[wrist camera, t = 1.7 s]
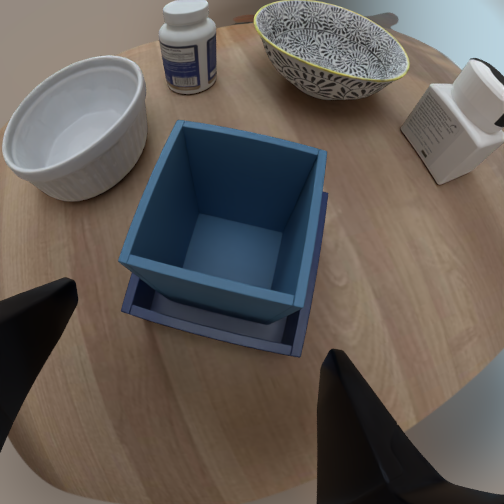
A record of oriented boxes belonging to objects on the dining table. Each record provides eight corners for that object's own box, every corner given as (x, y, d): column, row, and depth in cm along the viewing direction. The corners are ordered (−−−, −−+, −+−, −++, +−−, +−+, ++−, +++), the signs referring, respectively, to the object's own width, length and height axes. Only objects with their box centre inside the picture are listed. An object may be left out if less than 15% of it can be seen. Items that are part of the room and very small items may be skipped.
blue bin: (268, 325, 20) (303, 308, 10) (169, 300, 20) (117, 261, 10) (287, 231, 22) (327, 150, 12) (196, 210, 22) (177, 119, 12)
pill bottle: (198, 61, 28) (194, -9, 19) (226, 81, 27) (228, 4, 18) (158, 80, 27) (144, 8, 18) (183, 103, 26) (173, 22, 17)
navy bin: (285, 354, 20) (300, 357, 15) (142, 318, 20) (120, 311, 15) (311, 219, 23) (328, 192, 19) (183, 190, 23) (174, 157, 19)
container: (435, 121, 29) (487, 53, 16) (470, 172, 27) (536, 111, 14) (398, 128, 27) (454, 44, 15) (437, 186, 25) (515, 112, 13)
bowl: (387, 152, 26) (422, 103, 19) (231, 109, 26) (233, 47, 19) (379, 68, 31) (398, 28, 24) (264, 36, 31) (270, -10, 24)
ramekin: (132, 86, 26) (118, 38, 20) (183, 162, 24) (170, 105, 17) (31, 147, 23) (1, 109, 17) (53, 243, 21) (6, 209, 14)
